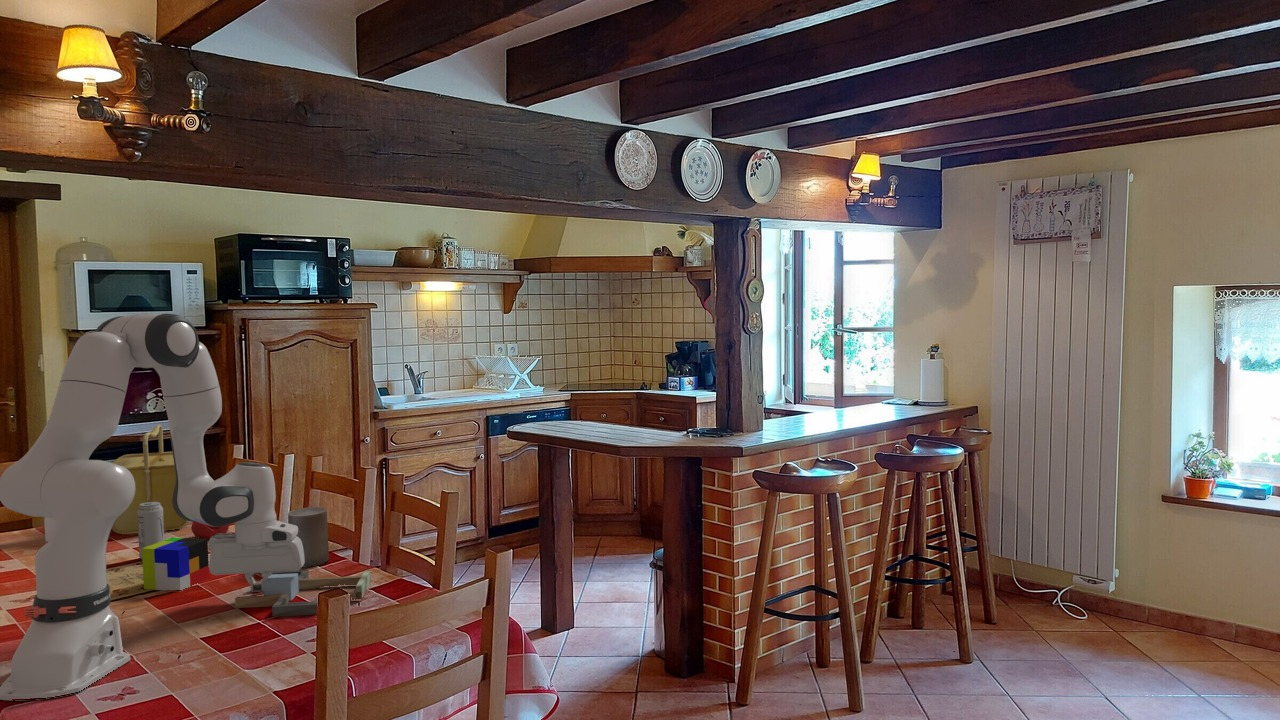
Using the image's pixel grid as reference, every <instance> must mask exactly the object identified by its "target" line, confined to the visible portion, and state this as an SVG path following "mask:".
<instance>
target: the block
mask: <svg viewBox="0 0 1280 720" xmlns="http://www.w3.org/2000/svg"><path fill="white" fill-rule="evenodd" d="M263 586H264V591H263V595H280V594H288V602H291V601H292V600H293V599H294V598H295V597H297V595H298V594H299V593H300V590H299V584H298V573H295V574H272V575H271V576H270V577H268V579H267V580H265V581H264V582H263Z"/></svg>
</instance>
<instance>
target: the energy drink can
mask: <svg viewBox="0 0 1280 720" xmlns="http://www.w3.org/2000/svg"><path fill="white" fill-rule="evenodd" d="M137 515H138V535H137V536H138V553H139V554H138V556H139V558H140V559H141V561H142V562H143V559H142V548H144V547H147V546H150V545H153V544H155V543H158V542H161V541H164V540H165V531H164V518H163V508H162V506H161V505H160V502H146V503H142V504H140V507H139V509H138V511H137Z"/></svg>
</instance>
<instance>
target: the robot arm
mask: <svg viewBox="0 0 1280 720" xmlns="http://www.w3.org/2000/svg"><path fill="white" fill-rule="evenodd" d="M135 368H142V369H151V368H152V369H154V370H155V372H156V373H157V374H158V376H159V380H160V387H161V392H162V396H163V397H162V398H163V401H164V402H163V403H164V406H165V410H166V415H167V419H168V425H169V426H168V427H169V436H170V444H171V445H170V446H171V450H172V451H171V452H173V459H174V466H175V474H176V483H175V488H174V492H173V499H172V503H173V507H174V510H175V512H176V513H177V514H178V515H179V516H180V517H181V518H183V519H184V520H187V521H188V522H192V523H193V522H199V523H202V524H205V525H209V526H213V527H222V526H226V525H229V526H230V525H231V524H234V532H227V533H226V534H222V533H218V534H215V536H212V537H211V538H210V539H209V540H208V551H209V552H210V555H209V573H210V574H212V575H213V576H221V575H223V576H224V575H239V574H240V575H241V574H243V575H244V577H245V580H246V581H247V582H248V584H249V585H250V593H257V591H262V592H264V586H263V582H264V581H265V580H267V579H268V577H269V576H270V574H271V573H270V572H282V571H298V570H302V567H303V565H304V562H305V558H304V550H303V545H302V541H301V539H300V538H299V537H297V536H296V535H297V534H298V527H297V526H296V525H292V524H288V522H283V521H280V520H277V513H276V511H275V504H276V499H277V498H276V497H277V495H276V493H277V492H276V482H275V477H274V472H273V470H272V468H271V467H270V466H269V465H267V464H265V463H261V462H253V461H245V462H244V461H243V462H238V463H236V464H235V466H234V467H233V468H232V469H231V470H230V471H228V472H227V473H226V474H224V475H223V476H220V478H217V479H216V480H214V479H213V478H212V477H211V476H210V474H209V472H208V469H207V462H206V461H207V460H206V454H205V448H204V436H205V433H206V432H207V430H208V429H209V428H210V427H213V425H215V423H217V421H218V420H219V419H220V417H221V415H222V411H223V410H222V409H223V403H222V402H223V400H222V399H223V398H222V392H221V387H220V384H219V383H220V382H219V379H218V375H217V374H218V373H217V371H216V368H215V365H214V362H213V360H212V358H211V354H210V352H209V351H208V348H207V347H206V345H204V344H203V343H202V342H201V341H200V340H199V336H198V332H197V330H196V328H195V327H194V324H192V322H190V320H189V319H188V318H186V317H184V316H182V315H178V314H173V313H168V312H167V313H161V314H159V313H135V314H129V315H125V316H122V315H121V316H120V315H119V316H118V315H117V316H115V317H112V318H109V319H106V320H105V321H104V322H102V323H101V324H99V326H97V328H96V329H95V331H93V332H88V333H85V334H84V335H82V336H80V337H79V338H78V340H77V341H76V343H75V345H74V346H73V348H72V351H71V352H70V354H69V356H68V359H67V361H66V363H65V366H64V369H63V372H62V374H61V377H60V380H59V381H60V382H59V385H58V388H57V392H56V395H55V398H54V402H53V405H52V408H51V412H50V414H49V417H48V420H47V422H46V424H45V426H44V428H43V430H42V432H41V433H40V435H39V437H38V438H37V440H36V441H35V443H33V444H32V446H31V447H30V449H28V451H27V452H26V453H25V454H24V455H23V456H22V457H21V458H20V459H19V460H17V461H16V462H14V463H12V464H11V465H10V466H8V467H7V468H6V469H5V470H4V472H2V474H1V475H0V476H1V477H0V502H1V504H2V505H3V507H5V508H7V509H8V510H11V511H13V512H16V513H19V514H22V515H25V516H29V517H37V518H44V517H50V518H55V530H54V533H53V536H52V539H51V541H50V542H46V543H45V544H44V545H42V546H41V547H40V548H39V549H38V551H37V552H36V554H35V555H34V556H35V558H34V565H35V567H34V568H35V587H36V589H35V590H36V594H35V595H34V598H33V599H34V600H33V602H32V606H26V607H25V608H24V611H23V613H24V614H23V617H24V619H31V623H30V625H29V627H28V628H27V630H26V632H25V634H24V635H23V637H22V639H21V641H20V643H19V644H18V646H17V648H16V651H15V652H14V654H13V656H12V657H11V662H10V663H11V665H10V675H9V676H7V678H6V679H5V681H3V683H2V684H1V685H0V700H3V701H13V700H12V699H30V698H46V699H48V698H47V697H53V696H58V695H64V694H67V693H68V694H69V693H74V692H78V693H80V692H82V691H84V690H85V689H87V688H89V687H90V686H92V685H93V684H95V683H96V681H97V680H98V681H100V680H102V679H103V678H105V677H106V676H107V674H108V673H109V674H110V672H111V673H112V672H114V671H115V670H117V669H118V667H119V668H121V667H122V666H123V665H125V664H126V663H128V662H130V661H131V655H130V653H129V652H125V651H124V649H123V643H122V634H121V628H120V627H121V626H120V621H119V617H118V616H117V615H116V614H115V613H114V612H113V611H112V609H111V608H110V604H111V596H112V592H111V590H110V585H109V584H108V582H107V545H108V540H109V537H110V533H111V531H112V526H113V524H114V522H115V520H116V519H117V518H118V517H119V516H120V515H121V514H122V513H123V512H124V511H125V510H126V509H127V508H128V507H129V506H130V504H131V502H132V501H133V498H134V495H135V481H134V478H133V476H132V474H131V472H130V471H129V470H128V469H126V468H125V467H123V466H120V465H117V464H113V462H110V461H105V460H101V459H90V457H91V455H92V454H93V452H94V451H95V450H96V449H97V447H98V446H99V445H100V444H102V443H103V442H105V441H106V440H108V439H110V438H112V436H114V434H115V433H116V431H117V430H118V426H119V423H120V419H121V415H122V411H123V407H124V403H125V398H126V394H127V391H128V385H129V381H130V380H129V379H130V375H131V374H132V371H134V369H135ZM214 537H215V538H214ZM303 568H304V567H303ZM259 573H260V574H261V577H262V578H263V577H264V579H263V581H262V582H256V581H257V580H255V578H254V576H255V574H259ZM113 670H114V671H113ZM109 674H108V675H109ZM105 675H106V676H105ZM102 677H103V678H102ZM99 679H100V680H99ZM98 681H97V682H98ZM94 682H95V683H94ZM92 683H93V684H92ZM91 684H92V685H91ZM89 685H90V686H89ZM88 686H89V687H88ZM86 687H87V688H86ZM84 688H85V689H84ZM83 689H84V690H83ZM81 690H82V691H81ZM79 691H80V692H79ZM74 694H75V693H74Z"/></svg>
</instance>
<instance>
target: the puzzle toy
mask: <svg viewBox="0 0 1280 720" xmlns="http://www.w3.org/2000/svg"><path fill="white" fill-rule="evenodd" d="M142 559H143V561H142V576H143V589H144V590H150V589H155V590H154V591H166V590H182V591H184V590H183V589H185V588H187V589H189V588H191V587H193V586H192V585H194V584H196V585H198V584H200V583H202V582H205V581H207V580H209V579H210V571H209V563H210V561H209V540H208V539H199V538H196V537H195V538H191V537H190V538H189V537H173V536H172V537H169V538H167V539H164V541H161V542H158V543H155V544H153V545H150V546H147V547H144V548H142ZM142 559H141V560H142ZM208 578H209V579H208ZM206 579H207V580H206ZM204 580H205V581H204ZM201 581H202V582H201ZM199 582H200V583H199ZM197 583H198V584H197ZM190 586H191V587H190ZM194 586H195V585H194ZM188 587H189V588H188ZM185 590H186V589H185Z"/></svg>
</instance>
